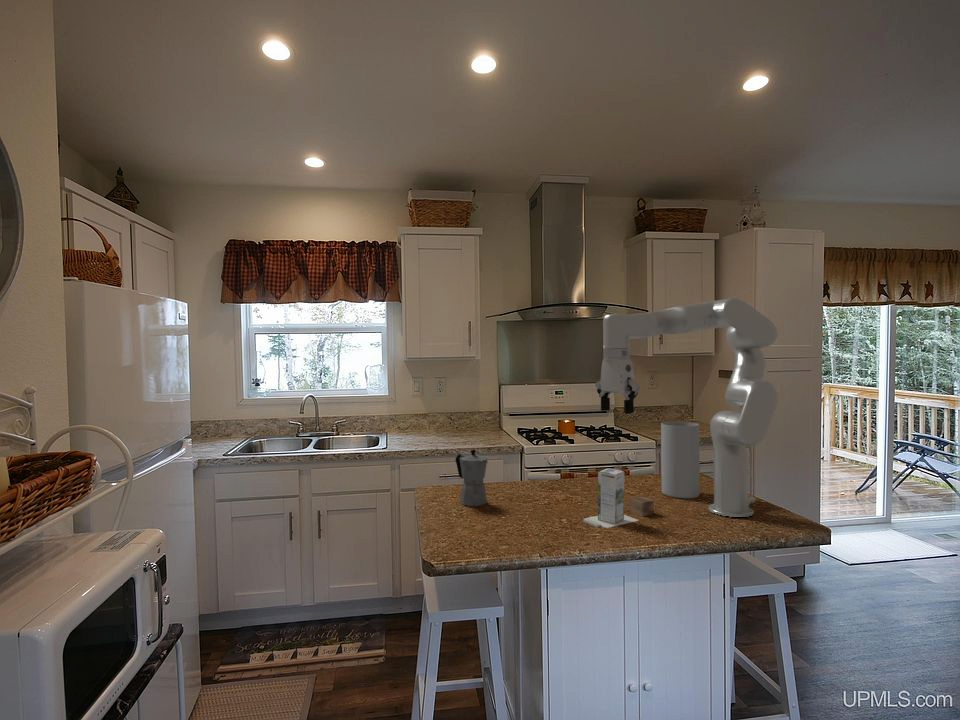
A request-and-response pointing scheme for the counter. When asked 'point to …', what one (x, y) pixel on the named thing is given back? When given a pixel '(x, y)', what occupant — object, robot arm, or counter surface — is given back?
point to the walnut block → (642, 506)
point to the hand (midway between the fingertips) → (616, 411)
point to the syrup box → (611, 495)
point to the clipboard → (598, 523)
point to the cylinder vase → (680, 459)
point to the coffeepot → (472, 478)
